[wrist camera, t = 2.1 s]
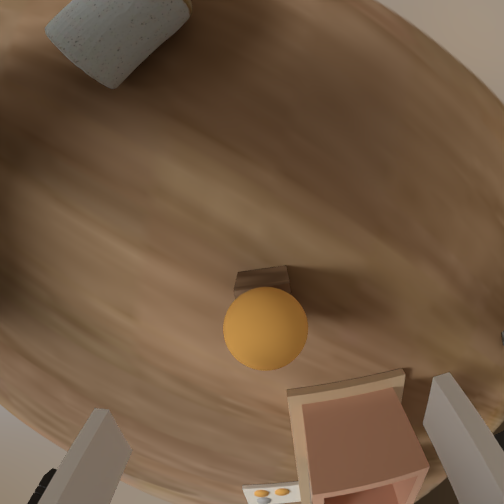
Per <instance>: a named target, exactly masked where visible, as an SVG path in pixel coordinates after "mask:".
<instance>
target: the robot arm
mask: <svg viewBox="0 0 504 504" xmlns="http://www.w3.org/2000/svg"><path fill="white" fill-rule="evenodd" d="M423 426H424V428H425V430H426V432H427V434H428V436H429V438H430V440H431V442H432V444H433V446H434V448H435V450H436V452H437V454H438V457H439V459H440V461H441V463H442V465H443V467H444V470H445V472H446V474H447V476H448V478H449V481H450V482H451V485H452V488H453V490H454V492H455V494H456V497H457V499H458V501H459V504H504V431H502V432H500V433H498V434H496V435H494V436H493V434H492V432H491V431H490V429H489V428H488V426H487V425H486V423H485V422H484V420H483V419H482V417H481V416H480V415H479V413H478V412H477V410H476V409H475V407H474V406H473V404H472V403H471V402H470V400H469V399H468V397H467V396H466V394H465V393H464V392H463V390H462V389H461V387H460V386H459V385H458V383H457V382H456V381H455V379H454V378H453V376H452V375H451V374H450V372H448V373H445V374H442V375H438V376H435V377H433V380H432V385H431V390H430V395H429V399H428V404H427V408H426V412H425V416H424V420H423ZM131 453H132V449H131V447H130V445H129V444H128V442H127V441H126V439H125V437H124V435H123V434H122V432H121V430H120V429H119V427H118V425H117V423H116V421H115V420H114V418H113V416H112V414H111V412H110V410H109V409H98V408H95V409H94V410H93V412H92V414H91V415H90V417H89V418H88V420H87V422H86V423H85V425H84V426H83V428H82V430H81V431H80V433H79V434H78V436H77V438H76V439H75V441H74V443H73V444H72V446H71V448H70V449H69V451H68V452H67V454H66V456H65V457H64V459H63V461H62V462H61V464H60V466H59V468H58V469H57V470H56V469H51V470H50V471H49V472H48V473H47V474H45V475H44V477H43V478H42V480H41V481H40V483H39V486H38V487H37V488H36V490H35V493H33V495H32V497H31V499H30V500H29V502H28V504H110V502H111V500H112V497H113V495H114V493H115V490H116V488H117V485H118V483H119V481H120V478H121V476H122V474H123V471H124V469H125V467H126V464H127V462H128V460H129V457H130V455H131Z"/></svg>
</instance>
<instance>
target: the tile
mask: <svg viewBox="0 0 504 504" xmlns="http://www.w3.org/2000/svg"><path fill="white" fill-rule="evenodd" d="M242 489H243V492H244V494H245V497H246V499H247V501H248V504H278V503H289V502H299V501H301V497H300V489H299V482H298V481H295V482H286V483H275V484H260V485H243V486H242Z"/></svg>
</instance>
